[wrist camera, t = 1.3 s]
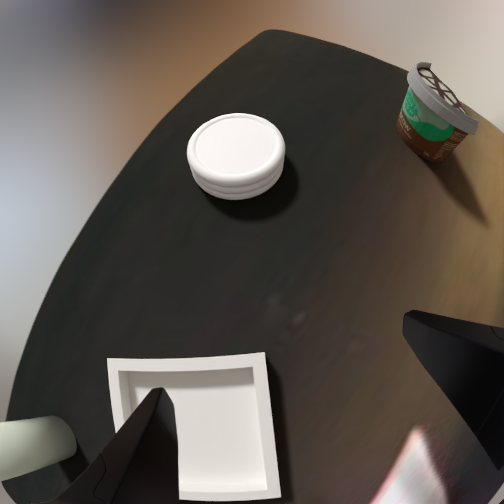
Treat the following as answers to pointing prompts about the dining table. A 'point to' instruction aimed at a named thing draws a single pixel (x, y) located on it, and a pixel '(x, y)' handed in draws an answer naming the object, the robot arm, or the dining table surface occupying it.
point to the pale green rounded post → (34, 445)
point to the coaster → (236, 156)
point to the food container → (432, 116)
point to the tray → (209, 421)
